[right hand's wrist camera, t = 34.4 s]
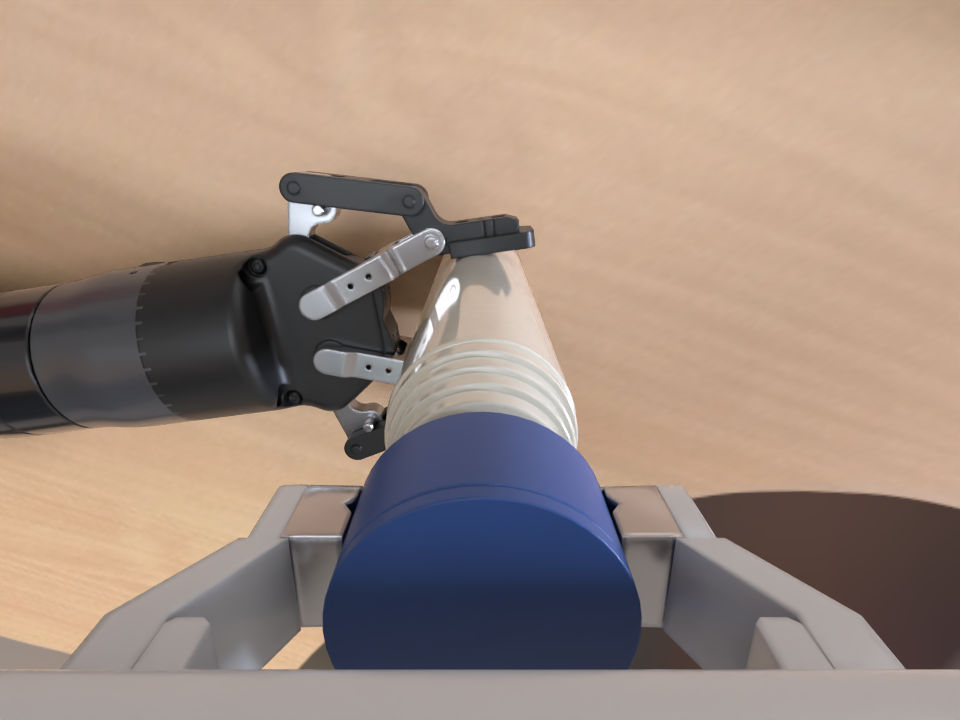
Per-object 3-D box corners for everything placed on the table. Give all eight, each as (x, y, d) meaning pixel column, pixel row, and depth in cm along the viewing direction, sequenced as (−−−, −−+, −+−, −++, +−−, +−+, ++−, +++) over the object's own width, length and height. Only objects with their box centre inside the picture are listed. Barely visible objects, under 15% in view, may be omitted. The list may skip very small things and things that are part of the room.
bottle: (432, 238, 32) (290, 486, 8) (516, 226, 31) (629, 443, 8) (447, 318, 33) (364, 725, 9) (526, 307, 33) (645, 695, 9)
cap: (533, 365, 9) (553, 440, 7) (642, 558, 11) (692, 679, 8) (310, 480, 10) (255, 585, 8) (439, 647, 11) (428, 781, 9)
